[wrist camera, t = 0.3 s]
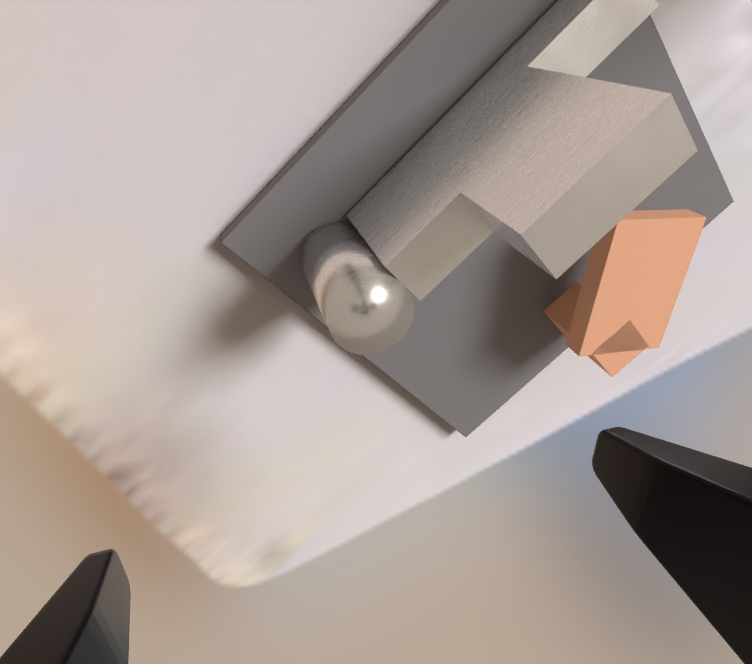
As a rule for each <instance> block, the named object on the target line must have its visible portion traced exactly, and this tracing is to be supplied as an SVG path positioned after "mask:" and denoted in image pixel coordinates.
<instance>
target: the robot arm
mask: <svg viewBox="0 0 752 664" xmlns="http://www.w3.org/2000/svg"><path fill="white" fill-rule="evenodd" d="M592 466H593V470H594V472H595V474H596V476H597V477H598V479H599V480H600V482H601V483H602V485H603V486H604V488H605V489H606V491H607V492H608V494H609V495H610V497H611V498H612V500H613V501H614V502H615V504H616V505H617V507H618V508H619V510H620V511H621V513H622V514H623V515H624V517H625V519H626V520H627V522H628V523H629V524H630V526H631V527H632V529H633V530H634V531H635V533H636V534H637V535H638V537H639V538H640V539H641V540H642V542H643V543H644V544H645V545H646V546H647V548H648V549H649V550H650V551H651V552H652V554H653V555H654V556H655V557H656V558H657V560H658V561H659V562H660V563H661V564H662V566H663V567H664V568H665V569H666V570H667V571H668V573H669V574H670V575H671V576H672V577H673V579H674V580H675V581H676V582H677V583H678V585H679V586H680V587H681V588H682V589H683V591H684V592H685V593H686V594H687V596H688V597H689V598H690V599H691V600H692V601H693V603H694V604H695V605H696V606H697V607H698V609H699V610H700V611H701V612H702V613H703V614H704V616H705V617H706V618H707V619H708V621H709V622H710V623H711V624H712V625H713V626H714V628H715V629H716V630H717V631H718V633H719V634H720V635H721V636H722V637H723V639H724V640H725V641H726V642H727V643H728V645H729V646H730V647H731V648H732V649H733V650H734V652H735V653H736V654H737V655H738V657H739V658H740V659H741V660H742V661H743V663H744V664H752V468H751V467H747V466H744V465H741V464H738V463H735V462H731V461H728V460H725V459H722V458H719V457H715V456H712V455H709V454H706V453H703V452H699V451H696V450H693V449H690V448H686V447H683V446H680V445H677V444H674V443H671V442H667V441H664V440H661V439H658V438H654V437H651V436H648V435H645V434H642V433H639V432H635V431H632V430H629V429H626V428H622V427H614V428H610V429H606V430H603V431H601V432H600V433H599V434H598V438H597V442H596V446H595V450H594V454H593V458H592ZM129 621H130V585H129V581H128V577H127V575H126V573H125V570H124V568H123V566H122V563H121V561H120V559H119V556H118V554H117V552H116V551H115V550H113V549H108V550H104V551H100V552H96V553H92V554H89V555H88V556H87V557H85V558H84V559H83V561H82V562H81V563H80V564H79V565H78V567H77V568H76V569H75V570H74V571H73V572H72V574H71V575H70V576H69V577H68V578H67V579H66V581H65V582H64V583H63V584H62V585H61V587H60V588H59V589H58V590H57V591H56V592H55V594H54V595H53V596H52V597H51V598H50V600H49V601H48V602H47V603H46V604H45V605H44V607H43V608H42V609H41V610H40V611H39V613H38V614H37V615H36V616H35V617H34V618H33V620H32V621H31V622H30V623H29V624H28V626H27V627H26V628H25V629H24V630H23V632H22V633H21V634H20V635H19V636H18V638H17V639H16V640H15V641H14V642H13V643H12V644H11V646H10V647H9V648H8V649H7V650H6V652H5V653H4V654H3V655H2V656H1V658H0V664H128V654H129V653H128V651H129V624H130V623H129Z"/></svg>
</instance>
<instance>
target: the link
mask: <svg viewBox="0 0 752 664" xmlns="http://www.w3.org/2000/svg"><path fill="white" fill-rule="evenodd" d="M658 6H659V5H658V3H657V1H656V0H558V1H557V2H556V3H555V4H554V5H553V6H552V7H551V8H550V9H549V10H548V11H547V12H546V13H545V14H544V15H543V16H542V17H541V18H540V20H539V21H538V22H537V23H536V24H535V25H534V26H533V27H532V28H531V29H530V30H529V31H528V32H527V33H526V34H525V35H524V36H523V37H522V38H521V39H520V40H519V41H518V42H517V43H516V44H515V45H514V46H513V47H512V48H511V49H510V50H509V51H508V52H507V53H506V54H505V55H504V56H503V57H502V58H501V59H500V60H499V61H498V62H497V63H496V64H495V65H494V66H493V67H492V68H491V69H490V70H489V71H488V72H487V73H486V74H485V75H484V76H483V77H482V78H481V79H480V80H479V81H478V82H477V83H476V85H475V86H474V87H473V88H472V89H471V90H470V91H469V92H468V93H467V94H466V95H465V96H464V97H463V98H462V99H461V100H460V101H459V102H458V103H457V104H456V105H455V106H454V107H453V108H452V109H451V110H450V111H449V112H448V113H447V114H446V115H445V116H444V117H443V118H442V119H441V120H440V121H439V122H438V123H437V124H436V125H435V126H434V127H433V128H432V129H431V130H430V131H429V132H428V133H427V134H426V135H425V136H424V137H423V138H422V139H421V140H420V141H419V142H418V143H417V144H416V145H415V146H414V147H413V148H412V150H411V151H410V152H409V153H408V154H407V155H406V156H405V157H404V158H403V159H402V160H401V161H400V162H399V163H398V164H397V165H396V166H395V167H394V168H393V169H392V170H391V171H390V172H389V173H388V174H387V175H386V176H385V177H384V178H383V179H382V180H381V181H380V182H379V183H378V184H377V185H376V186H375V187H374V188H373V189H372V190H371V191H370V192H369V193H368V194H367V195H366V196H365V197H364V198H363V199H362V200H361V201H360V202H359V203H358V204H357V205H356V206H355V207H354V208H353V209H352V210H351V211H350V212H349V214H348V215H347V217H348V218H349V220H350V221H351V222H352V224H353V225H352V224H350V223H346V222H332V223H327V224H325V225H322V226H321V227H319V228H317V229H316V230H314V231H313V232H312V233H311V234H310V235H309V237H308V238H307V239H306V241H305V243H304V245H303V248H302V251H301V265H302V269H303V271H304V274H305V276H306V278H307V281H308V283H309V285H310V288H311V290H312V292H313V295H314V297H315V299H316V302H317V304H318V306H319V309H320V311H321V313H322V316H323V318H324V320H325V323H326V325H327V327H328V330H329V332H330V334H331V336H332V338H333V340H334V341H335V342H336V344H337V345H339V346H340V347H341V348H342V349H344V350H346V351H348V352H350V353H353V354H358V355H371V354H376V353H380V352H382V351H385V350H387V349H389V348H391V347H392V346H394V345H395V344H396V343H398V342H399V341H400V340H401V339H402V338H403V337H404V335H405V334H406V333H407V331H408V329H409V328H410V325H411V323H412V320H413V315H414V304H413V300H412V297H411V295H410V293H409V291H411V292H412V293H413V294H414V295H415V296H416V297H417V298H418V299H419V300H420V301H421V300H422V299H423V298H424V297H425V296H426V295H427V294H428V293H429V292H430V291H431V290H433V289H434V288H435V287H436V286H437V285H438V284H439V283H440V282H441V281H442V280H443V279H444V278H445V277H446V276H447V275H448V274H449V273H450V272H451V271H452V270H454V269H455V268H456V267H457V266H458V265H459V264H460V263H461V262H462V261H463V260H464V259H465V258H466V257H467V256H468V255H469V254H470V253H471V252H472V251H473V250H475V249H476V248H477V247H478V246H479V245H480V244H481V243H482V242H483V241H484V240H485V239H486V238H487V237H488V236H489V235H490V234H491V233H492V232H494V233H495V234H497V235H498V236H499V237H501V238H502V239H503V240H505V241H506V242H507V243H509V244H510V245H511V246H513V247H514V248H515V249H517V250H518V251H519V252H521V253H522V254H523V255H524V256H526V257H527V258H528V259H530V260H531V261H532V262H534V263H535V264H536V265H538V266H539V267H540V268H542V269H543V270H544V271H546V272H547V273H548V274H550V275H551V276H552V277H554V278H555V279H557V278H558V277H560V276H561V275H562V274H563V273H564V272H565V271H566V270H567V269H568V268H569V267H571V266H572V265H573V264H574V263H575V262H576V261H577V260H578V259H579V258H580V257H582V256H583V255H584V254H585V253H586V252H587V251H588V250H589V249H590V248H591V247H593V246H594V245H595V244H596V243H597V242H598V241H599V240H600V239H601V238H602V237H603V236H605V235H606V234H607V233H608V232H609V231H610V230H611V229H612V228H613V227H614V226H616V225H617V224H618V223H619V222H620V221H621V220H622V219H623V218H624V217H625V216H627V215H628V214H629V213H630V212H631V211H632V210H633V209H634V208H635V207H636V206H638V205H639V204H640V203H641V202H642V201H643V200H644V199H645V198H646V197H647V196H649V195H650V194H651V193H652V192H653V191H654V190H655V189H656V188H657V187H658V186H659V185H661V184H662V183H663V182H664V181H665V180H666V179H667V178H668V177H669V176H670V175H672V174H673V173H674V172H675V171H676V170H677V169H678V168H679V167H680V166H681V165H683V164H684V163H685V162H686V161H687V160H688V159H689V158H690V157H691V156H692V155H694V154H695V153H696V152H697V151H698V150H697V148H696V146H695V144H694V141H693V139H692V137H691V135H690V133H689V131H688V129H687V126H686V124H685V122H684V120H683V118H682V116H681V113H680V111H679V109H678V107H677V105H676V103H675V101H674V98H673V96H672V94H671V93H666V92H661V91H656V90H650V89H645V88H640V87H634V86H629V85H624V84H618V83H613V82H608V81H602V80H597V79H592V78H586V77H587V76H588V75H589V74H590V73H591V72H592V71H593V70H594V69H595V68H596V67H597V66H598V65H599V64H600V63H601V62H602V61H603V60H604V59H605V58H606V57H607V56H608V55H609V54H610V53H611V52H612V51H613V50H614V49H615V48H616V47H617V46H618V45H619V44H620V43H621V42H622V41H623V40H624V39H625V38H627V37H628V36H629V35H630V34H631V33H632V32H633V31H634V30H635V29H636V28H637V27H638V26H639V25H640V24H641V23H642V22H643V21H644V20H645V19H646V18H647V17H648V16H649V15H650V14H651V13H652V12H653V11H654V10H655V9H656V8H657V7H658ZM407 289H408V290H409V291H408V290H407Z"/></svg>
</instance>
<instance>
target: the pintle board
mask: <svg viewBox="0 0 752 664" xmlns="http://www.w3.org/2000/svg"><path fill="white" fill-rule="evenodd" d="M557 1H558V0H441V1H440V2H439V3H438V4H437V5H436V6H435V7H434V9H433V10H432V11H431V12H430V13H429V14H428V15H427V16H426V17H425V18H424V19H423V20H422V21H421V22H420V23H419V24H418V26H417V27H416V28H415V29H414V30H413V31H412V32H411V33H410V34H409V35H408V36H407V37H406V38H405V39H404V40H403V41H402V43H401V44H400V45H399V46H398V47H397V48H396V49H395V50H394V51H393V52H392V53H391V54H390V55H389V56H388V57H387V58H386V60H385V61H384V62H383V63H382V64H381V65H380V66H379V67H378V68H377V69H376V70H375V71H374V72H373V73H372V74H371V75H370V77H369V78H368V79H367V80H366V81H365V82H364V83H363V84H362V85H361V86H360V87H359V88H358V89H357V90H356V91H355V92H354V94H353V95H352V96H351V97H350V98H349V99H348V100H347V101H346V102H345V103H344V104H343V105H342V106H341V107H340V108H339V110H338V111H337V112H336V113H335V114H334V115H333V116H332V117H331V118H330V119H329V120H328V121H327V122H326V123H325V124H324V125H323V127H322V128H321V129H320V130H319V131H318V132H317V133H316V134H315V135H314V136H313V137H312V138H311V139H310V140H309V141H308V142H307V144H306V145H305V146H304V147H303V148H302V149H301V150H300V151H299V152H298V153H297V154H296V155H295V156H294V157H293V158H292V159H291V161H290V162H289V163H288V164H287V165H286V166H285V167H284V168H283V169H282V170H281V171H280V172H279V173H278V174H277V175H276V176H275V178H274V179H273V180H272V181H271V182H270V183H269V184H268V185H267V186H266V187H265V188H264V189H263V190H262V191H261V192H260V193H259V195H258V196H257V197H256V198H255V199H254V200H253V201H252V202H251V203H250V204H249V205H248V206H247V207H246V208H245V209H244V210H243V212H242V213H241V214H240V215H239V216H238V217H237V218H236V219H235V220H234V221H233V222H232V223H231V224H230V225H229V226H228V227H227V229H226V230H225V231H224V232H223V233H222V234H221V235H220V236H221V243H223V244H224V245H225V246H226V247H228V248H229V249H230V250H231V251H233V252H234V253H235V254H236V255H238V256H239V257H240V258H241V259H243V260H244V261H245V262H246V263H248V264H249V265H250V266H251V267H253V268H254V269H255V270H256V271H258V272H259V273H260V274H261V275H263V276H264V277H265V278H266V279H268V280H269V281H270V282H272V283H273V284H274V285H275V286H277V287H278V288H279V289H280V290H282V291H283V292H284V293H285V294H287V295H288V296H289V297H290V298H292V299H293V300H294V301H295V302H297V303H298V304H299V305H300V306H302V307H303V308H304V309H305V310H307V311H308V312H309V313H310V314H312V315H313V316H314V317H315V318H317V319H318V320H319V321H320V322H322V323H323V324H324V325H325V326H327V325H326V323H325V320H324V318H323V316H322V313H321V311H320V309H319V306H318V304H317V302H316V299H315V297H314V295H313V292H312V290H311V288H310V285H309V283H308V281H307V278H306V276H305V274H304V271H303V269H302V265H301V251H302V248H303V245H304V243H305V241H306V239H307V238H308V237H309V235H310V234H311V233H312V232H313V231H314V230H316V229H317V228H319V227H321V226H322V225H325V224H327V223H332V222H346V223H350V224H352V222H351V221H350V220H349V218H348V217H347V215H348V214H349V212H350V211H351V210H352V209H353V208H354V207H355V206H356V205H357V204H358V203H359V202H360V201H361V200H362V199H363V198H364V197H365V196H366V195H367V194H368V193H369V192H370V191H371V190H372V189H373V188H374V187H375V186H376V185H377V184H378V183H379V182H380V181H381V180H382V179H383V178H384V177H385V176H386V175H387V174H388V173H389V172H390V171H391V170H392V169H393V168H394V167H395V166H396V165H397V164H398V163H399V162H400V161H401V160H402V159H403V158H404V157H405V156H406V155H407V154H408V153H409V152H410V151H411V150H412V148H413V147H414V146H415V145H416V144H417V143H418V142H419V141H420V140H421V139H422V138H423V137H424V136H425V135H426V134H427V133H428V132H429V131H430V130H431V129H432V128H433V127H434V126H435V125H436V124H437V123H438V122H439V121H440V120H441V119H442V118H443V117H444V116H445V115H446V114H447V113H448V112H449V111H450V110H451V109H452V108H453V107H454V106H455V105H456V104H457V103H458V102H459V101H460V100H461V99H462V98H463V97H464V96H465V95H466V94H467V93H468V92H469V91H470V90H471V89H472V88H473V87H474V86H475V85H476V83H477V82H478V81H479V80H480V79H481V78H482V77H483V76H484V75H485V74H486V73H487V72H488V71H489V70H490V69H491V68H492V67H493V66H494V65H495V64H496V63H497V62H498V61H499V60H500V59H501V58H502V57H503V56H504V55H505V54H506V53H507V52H508V51H509V50H510V49H511V48H512V47H513V46H514V45H515V44H516V43H517V42H518V41H519V40H520V39H521V38H522V37H523V36H524V35H525V34H526V33H527V32H528V31H529V30H530V29H531V28H532V27H533V26H534V25H535V24H536V23H537V22H538V21H539V20H540V18H541V17H542V16H543V15H544V14H545V13H546V12H547V11H548V10H549V9H550V8H551V7H552V6H553V5H554V4H555V3H556V2H557ZM586 78H592V79H597V80H602V81H608V82H613V83H618V84H624V85H629V86H634V87H640V88H645V89H650V90H656V91H661V92H666V93H671V94H672V96H673V98H674V101H675V103H676V105H677V107H678V109H679V111H680V113H681V116H682V118H683V120H684V122H685V124H686V126H687V129H688V131H689V133H690V135H691V137H692V139H693V141H694V144H695V146H696V148H697V150H698V151H697V152H696V153H695V154H694V155H692V156H691V157H690V158H689V159H688V160H687V161H686V162H685V163H684V164H683V165H681V166H680V167H679V168H678V169H677V170H676V171H675V172H674V173H673V174H672V175H670V176H669V177H668V178H667V179H666V180H665V181H664V182H663V183H662V184H661V185H659V186H658V187H657V188H656V189H655V190H654V191H653V192H652V193H651V194H650V195H649V196H647V197H646V198H645V199H644V200H643V201H642V202H641V203H640V204H639V205H638V206H636V207H635V208H634V209H633V210H632V211H631V212H630V213H629V214H628V215H627V216H625V217H624V218H623V219H622V220H621V221H620V222H619V223H618V224H617V225H616V226H614V227H613V228H612V229H611V230H610V231H609V232H608V233H607V234H606V235H605V236H603V237H602V238H601V239H600V240H599V241H598V242H597V243H596V244H595V245H594V246H593V247H591V248H590V249H589V250H588V251H587V252H586V253H585V254H584V255H583V256H582V257H580V258H579V259H578V260H577V261H576V262H575V263H574V264H573V265H572V266H571V267H569V268H568V269H567V270H566V271H565V272H564V273H563V274H562V275H561V276H560V277H558V278H557V279H555V278H554V277H552V276H551V275H550V274H548V273H547V272H546V271H544V270H543V269H542V268H540V267H539V266H538V265H536V264H535V263H534V262H532V261H531V260H530V259H528V258H527V257H526V256H524V255H523V254H522V253H521V252H519V251H518V250H517V249H515V248H514V247H513V246H511V245H510V244H509V243H507V242H506V241H505V240H503V239H502V238H501V237H499V236H498V235H497V234H495V233H494V232H492V233H491V234H490V235H489V236H488V237H487V238H486V239H485V240H484V241H483V242H482V243H481V244H480V245H479V246H478V247H477V248H476V249H475V250H473V251H472V252H471V253H470V254H469V255H468V256H467V257H466V258H465V259H464V260H463V261H462V262H461V263H460V264H459V265H458V266H457V267H456V268H455V269H454V270H452V271H451V272H450V273H449V274H448V275H447V276H446V277H445V278H444V279H443V280H442V281H441V282H440V283H439V284H438V285H437V286H436V287H435V288H434V289H433V290H431V291H430V292H429V293H428V294H427V295H426V296H425V297H424V298H423V299H422V300H421V301H420V300H419V299H418V298H417V297H416V296H415V295H414V294H413V293H412V292H411V291H409V290H408V289H407V290H408V291H409V293H410V295H411V297H412V300H413V304H414V315H413V320H412V323H411V325H410V328H409V329H408V331H407V333H406V334H405V335H404V337H403V338H402V339H401V340H400V341H399V342H398V343H396V344H395V345H394V346H392V347H391V348H389V349H387V350H385V351H382V352H380V353H376V354H371V355H363V356H364V357H366V358H367V359H368V360H369V361H371V362H372V363H373V364H374V365H376V366H377V367H378V368H379V369H381V370H382V371H383V372H384V373H386V374H387V375H388V376H389V377H391V378H392V379H393V380H394V381H396V382H397V383H398V384H399V385H401V386H402V387H403V388H404V389H406V390H407V391H408V392H409V393H411V394H412V395H413V396H415V397H416V398H417V399H418V400H420V401H421V402H422V403H423V404H425V405H426V406H427V407H428V408H430V409H431V410H432V411H433V412H435V413H436V414H437V415H438V416H440V417H441V418H442V419H443V420H445V421H446V422H447V423H448V424H450V425H451V426H452V427H453V428H455V429H456V430H457V431H458V432H460V433H461V434H462V435H463V436H465V437H467V436H468V435H469V434H470V433H471V432H472V431H474V430H475V429H476V428H477V427H478V426H479V425H480V424H482V423H483V422H484V421H485V420H486V419H487V418H488V417H490V416H491V415H492V414H493V413H494V412H495V411H496V410H497V409H499V408H500V407H501V406H502V405H503V404H504V403H505V402H507V401H508V400H509V399H510V398H511V397H512V396H513V395H514V394H516V393H517V392H518V391H519V390H520V389H521V388H522V387H524V386H525V385H526V384H527V383H528V382H529V381H530V380H532V379H533V378H534V377H535V376H536V375H537V374H538V373H539V372H541V371H542V370H543V369H544V368H545V367H546V366H547V365H549V364H550V363H551V362H552V361H553V360H554V359H555V358H556V357H558V356H559V355H560V354H561V353H562V352H563V351H564V350H566V349H567V348H568V347H569V348H570V349H572V350H573V351H574V352H575V353H576V354H577V355H578V356H588V357H590V358H591V359H592V360H593V361H594V362H595V363H596V364H597V365H599V366H600V367H601V368H602V369H603V370H604V371H605V372H607V373H608V374H609V375H610V376H611V377H613V376H614V375H615V374H616V373H618V372H619V371H620V370H621V369H622V368H624V367H625V366H626V365H627V364H628V363H629V362H631V361H632V360H633V359H634V358H635V357H636V356H638V355H639V354H640V353H641V352H642V351H643V350H645V349H652V348H659V346H660V343H661V340H662V338H663V335H664V332H665V329H666V327H667V324H668V321H669V319H670V316H671V313H672V310H673V308H674V305H675V302H676V299H677V297H678V294H679V291H680V289H681V286H682V283H683V280H684V278H685V275H686V272H687V269H688V267H689V264H690V261H691V258H692V256H693V253H694V250H695V248H696V245H697V242H698V239H699V237H700V234H701V231H702V229H703V228H704V227H705V226H706V225H707V224H709V223H710V222H711V221H712V220H713V219H714V218H715V217H716V216H718V215H719V214H720V213H721V212H722V211H723V210H724V209H726V208H727V207H728V206H729V205H730V204H731V203H732V202H734V201H733V199H732V197H731V194H730V192H729V190H728V188H727V185H726V183H725V181H724V179H723V176H722V174H721V172H720V170H719V168H718V165H717V163H716V161H715V159H714V156H713V154H712V152H711V150H710V147H709V145H708V143H707V141H706V139H705V136H704V134H703V132H702V130H701V127H700V125H699V123H698V121H697V118H696V116H695V114H694V112H693V109H692V107H691V105H690V103H689V101H688V98H687V96H686V94H685V92H684V89H683V87H682V85H681V83H680V80H679V78H678V76H677V74H676V71H675V69H674V67H673V65H672V63H671V60H670V58H669V56H668V54H667V51H666V49H665V47H664V45H663V42H662V40H661V38H660V36H659V34H658V31H657V29H656V27H655V25H654V22H653V20H652V18H651V16H650V15H649V16H648V17H647V18H646V19H645V20H644V21H643V22H642V23H641V24H640V25H639V26H638V27H637V28H636V29H635V30H634V31H633V32H632V33H631V34H630V35H629V36H628V37H627V38H625V39H624V40H623V41H622V42H621V43H620V44H619V45H618V46H617V47H616V48H615V49H614V50H613V51H612V52H611V53H610V54H609V55H608V56H607V57H606V58H605V59H604V60H603V61H602V62H601V63H600V64H599V65H598V66H597V67H596V68H595V69H594V70H593V71H592V72H591V73H590V74H589V75H588V76H587V77H586ZM352 225H353V224H352Z"/></svg>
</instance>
